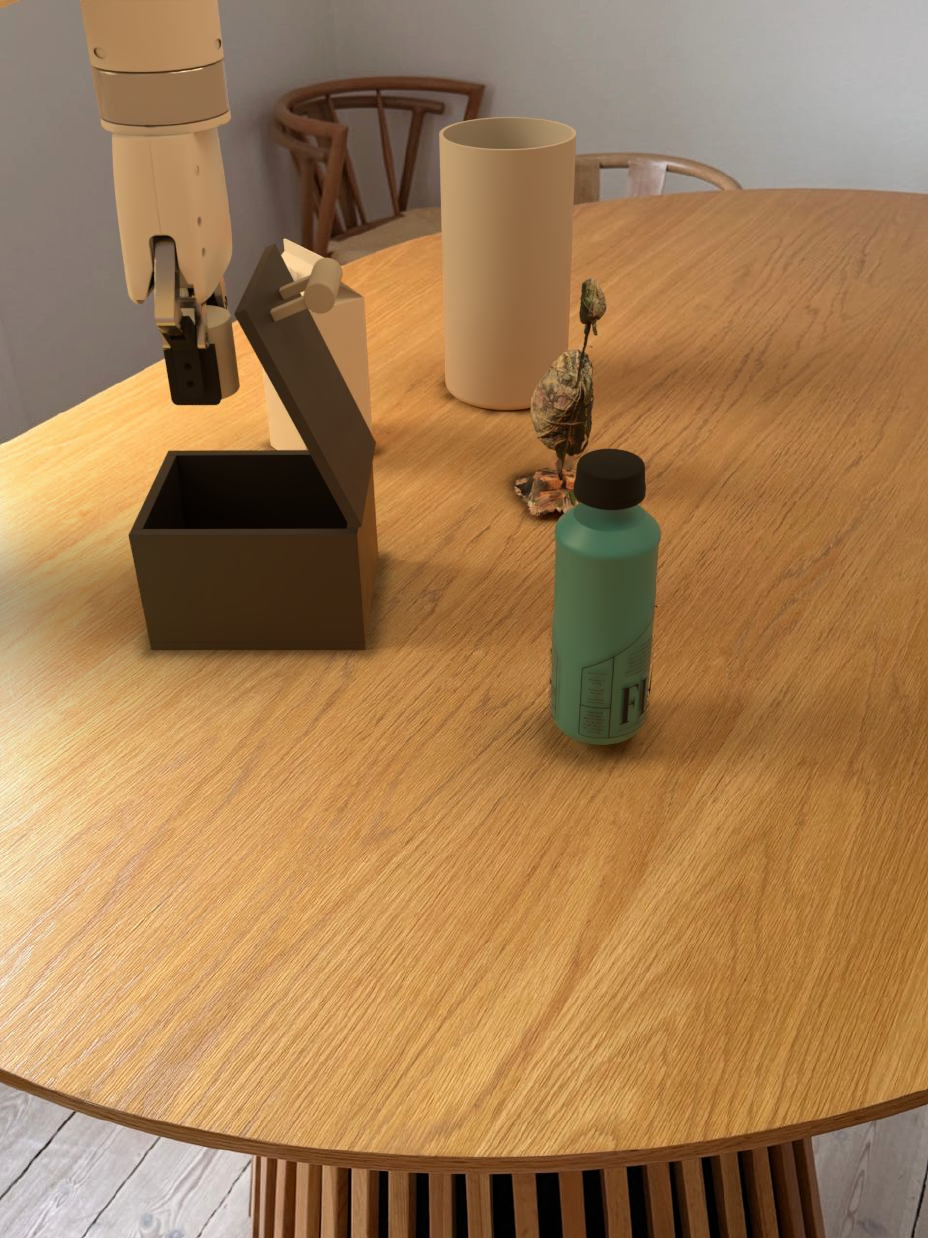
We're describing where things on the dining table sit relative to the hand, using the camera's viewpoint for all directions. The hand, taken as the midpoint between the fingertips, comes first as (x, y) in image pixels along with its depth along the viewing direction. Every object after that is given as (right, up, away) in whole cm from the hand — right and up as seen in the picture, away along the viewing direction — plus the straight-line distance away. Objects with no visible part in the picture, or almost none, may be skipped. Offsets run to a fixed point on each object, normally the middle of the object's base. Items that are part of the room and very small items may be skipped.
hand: (205, 384), depth 81 cm
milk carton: (+4, 0, +33) cm, 33 cm away
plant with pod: (+26, -5, +26) cm, 37 cm away
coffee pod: (0, 0, 0) cm, 0 cm away
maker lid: (+7, 0, +2) cm, 7 cm away
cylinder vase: (+22, +8, +44) cm, 50 cm away
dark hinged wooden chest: (+2, -14, +12) cm, 19 cm away
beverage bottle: (+26, -23, -1) cm, 35 cm away
